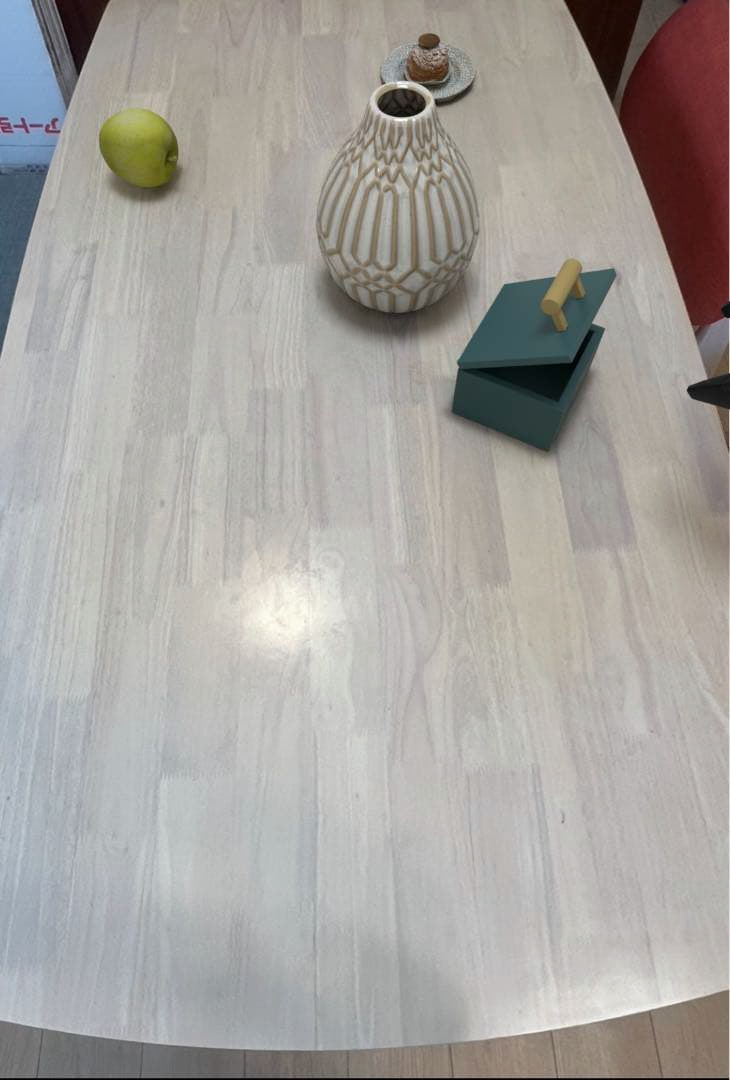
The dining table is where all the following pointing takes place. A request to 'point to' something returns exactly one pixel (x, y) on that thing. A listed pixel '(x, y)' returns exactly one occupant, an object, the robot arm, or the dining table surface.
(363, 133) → the vase
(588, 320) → the box lid
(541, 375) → the teal open box
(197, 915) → the dining table surface
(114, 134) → the apple
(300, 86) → the dining table surface
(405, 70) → the pastry
